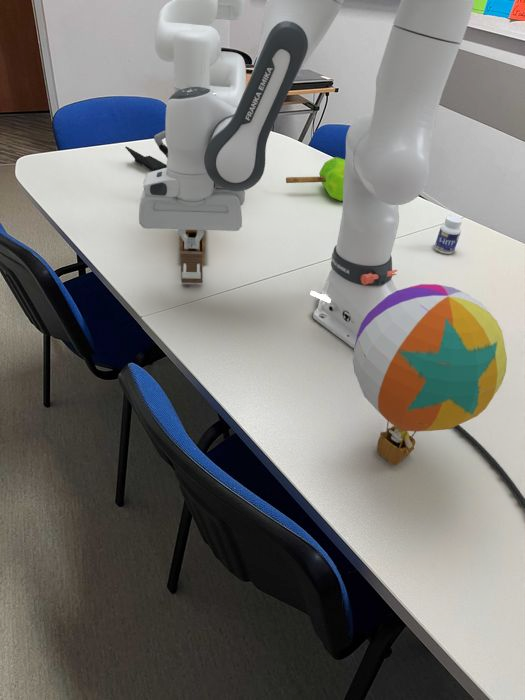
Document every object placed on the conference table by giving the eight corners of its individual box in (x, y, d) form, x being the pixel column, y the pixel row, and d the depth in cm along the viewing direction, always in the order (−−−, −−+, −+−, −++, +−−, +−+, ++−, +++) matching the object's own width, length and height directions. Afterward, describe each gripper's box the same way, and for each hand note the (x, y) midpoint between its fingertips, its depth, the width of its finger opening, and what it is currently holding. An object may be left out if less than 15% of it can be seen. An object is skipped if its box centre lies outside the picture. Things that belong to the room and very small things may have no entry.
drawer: (202, 296, 113) (202, 266, 108) (180, 295, 112) (179, 265, 107) (202, 248, 129) (202, 220, 125) (183, 247, 129) (182, 220, 124)
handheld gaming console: (172, 161, 172) (154, 139, 164) (161, 179, 171) (142, 158, 163) (149, 157, 179) (131, 136, 170) (138, 174, 177) (119, 153, 169)
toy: (305, 446, 82) (335, 284, 64) (382, 395, 93) (428, 243, 74) (404, 533, 71) (476, 369, 53) (479, 464, 82) (561, 307, 63)
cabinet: (205, 264, 125) (205, 230, 119) (180, 264, 124) (179, 229, 118) (204, 231, 138) (204, 199, 133) (182, 231, 138) (181, 198, 132)
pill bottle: (433, 251, 139) (442, 220, 133) (435, 243, 143) (444, 213, 137) (453, 256, 138) (464, 225, 132) (454, 247, 142) (465, 217, 136)
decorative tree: (281, 153, 162) (372, 152, 168) (279, 186, 169) (366, 184, 174) (295, 173, 149) (392, 171, 154) (292, 208, 155) (386, 205, 161)
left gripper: (231, 94, 117) (228, 170, 128) (153, 90, 115) (157, 167, 126) (232, 103, 111) (229, 181, 122) (150, 98, 109) (155, 178, 120)
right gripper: (244, 177, 102) (240, 241, 111) (138, 173, 100) (143, 239, 108) (246, 190, 97) (242, 256, 106) (135, 186, 95) (140, 253, 103)
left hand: (193, 174), depth 124 cm, fingers open, 9 cm apart
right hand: (191, 247), depth 107 cm, fingers closed
